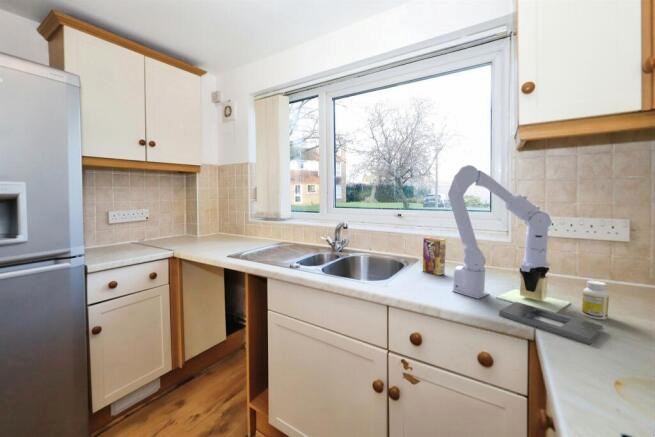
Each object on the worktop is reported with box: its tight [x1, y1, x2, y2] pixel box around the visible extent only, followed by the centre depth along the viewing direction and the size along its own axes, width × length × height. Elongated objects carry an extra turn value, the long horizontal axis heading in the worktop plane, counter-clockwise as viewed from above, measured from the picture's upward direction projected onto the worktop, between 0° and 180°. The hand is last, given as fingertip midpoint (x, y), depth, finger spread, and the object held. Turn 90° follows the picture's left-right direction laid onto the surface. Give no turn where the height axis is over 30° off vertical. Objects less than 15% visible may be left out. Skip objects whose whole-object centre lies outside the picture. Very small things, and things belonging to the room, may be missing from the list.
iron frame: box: [498, 302, 604, 346], centre depth 79 cm, size 20×11×2 cm, turn 35°
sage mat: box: [496, 288, 572, 313], centre depth 95 cm, size 16×14×1 cm
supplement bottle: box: [581, 280, 610, 320], centre depth 83 cm, size 5×5×10 cm
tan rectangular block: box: [519, 273, 549, 301], centre depth 95 cm, size 6×4×7 cm, turn 35°
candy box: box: [422, 236, 447, 276], centre depth 128 cm, size 9×4×15 cm, turn 32°
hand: (533, 289), depth 95 cm, fingers closed on tan rectangular block, 4 cm apart
